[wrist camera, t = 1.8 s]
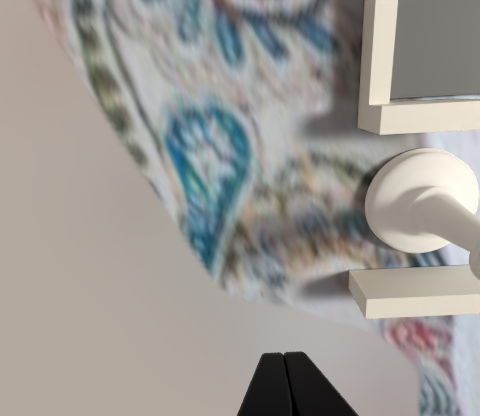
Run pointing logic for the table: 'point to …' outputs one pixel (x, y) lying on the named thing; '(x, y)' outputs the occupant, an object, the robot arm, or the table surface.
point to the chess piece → (426, 204)
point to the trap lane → (418, 129)
